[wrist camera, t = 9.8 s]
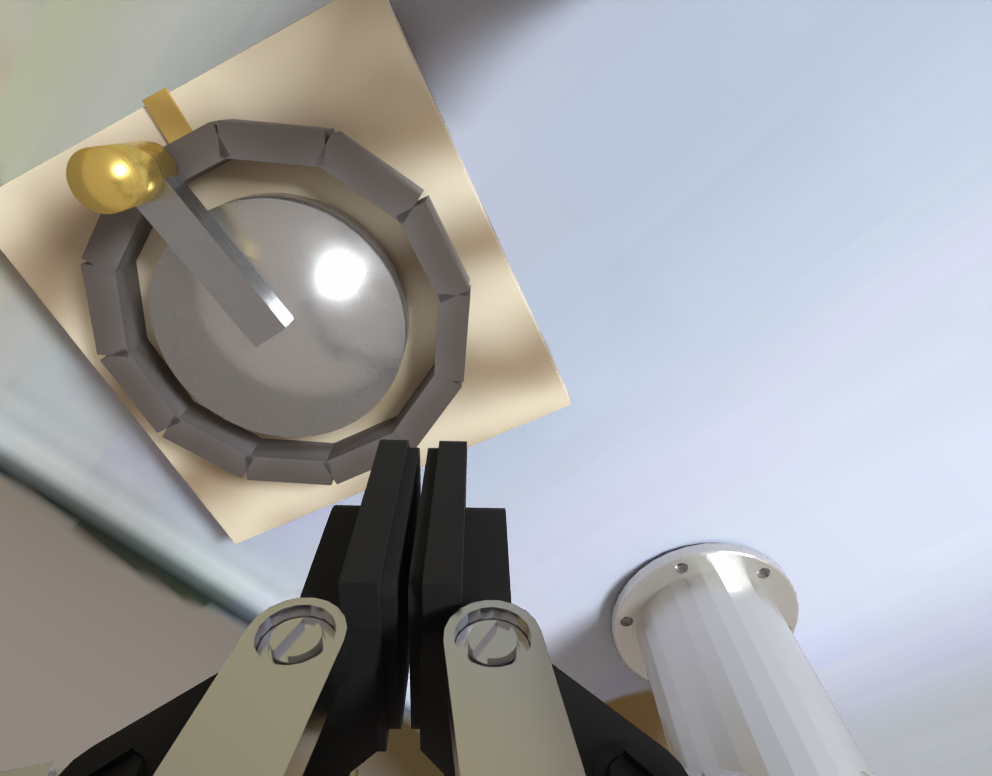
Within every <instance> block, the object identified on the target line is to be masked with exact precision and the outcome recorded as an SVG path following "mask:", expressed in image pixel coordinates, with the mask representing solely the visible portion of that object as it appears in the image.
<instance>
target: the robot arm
mask: <svg viewBox="0 0 992 776" xmlns="http://www.w3.org/2000/svg"><path fill="white" fill-rule="evenodd" d="M466 469H467V441H439V447H438V448H428V451H427V458H426V465H425V472H424V478H423V485H422V492H421V482H420V448H415V447H410V443H409V440H387V439H381V440H380V442H379V445H378V448H377V451H376V455H375V458H374V462H373V465H372V469H371V472H370V475H369V479H368V482H367V486H366V489H365V493H364V496H363V499H362V503H361V506H353V505H335V506H334V507H333V508H332V510H331V513H330V515H329V518H328V521H327V524H326V527H325V529H324V532H323V535H322V538H321V540H320V543H319V546H318V549H317V552H316V554H315V557H314V560H313V563H312V565H311V568H310V571H309V574H308V577H307V579H306V582H305V585H304V588H303V590H302V593H301V596H300V598H296V599H291V600H286V601H283V602H281V603H278V604H276V605H274V606H271V607H269V608H268V609H267V610H265V611H264V612H262V613H261V614H260V615H258V616H257V617H256V618H255V619H254V621H253V622H252V623H251V624H250V625H249V626H248V628H247V629H246V631H245V632H244V634H243V636H242V637H241V639H240V640H239V642H238V643H237V645H236V647H235V648H234V650H233V651H232V653H231V654H230V656H229V657H228V659H227V661H226V662H225V664H224V665H223V667H222V668H221V670H220V672H219V673H217V674H216V675H214V676H212V677H210V678H208V679H207V680H205V681H203V682H202V683H200V684H198V685H197V686H195V687H194V688H191V689H190V690H188V691H186V692H185V693H183V694H181V695H180V696H178V697H176V698H175V699H173V700H171V701H169V702H168V703H166V704H164V705H162V706H161V707H159V708H157V709H156V710H154V711H152V712H151V713H149V714H147V715H146V716H144V717H142V718H140V719H139V720H137V721H135V722H133V723H132V724H130V725H128V726H127V727H125V728H123V729H122V730H120V731H118V732H116V733H115V734H113V735H111V736H110V737H108V738H106V739H105V740H103V741H101V742H100V743H98V744H96V745H94V746H93V747H91V748H90V749H88V750H87V751H86V752H84V753H83V754H81V755H80V756H79V757H77V758H76V759H74V760H73V761H72V762H71V763H70V764H69V765H68V766H67V767H66V768H65V769H60V770H56V769H55V767H54V764H53V762H49V763H44V764H39V765H34V766H29V767H23V768H19V769H13V770H8V771H4V772H0V776H358V766H359V765H360V764H362V763H363V762H364V761H365V760H367V759H368V758H369V757H371V756H372V755H373V754H374V753H375V752H377V751H386V749H387V742H388V735H389V729H401V727H402V721H403V714H404V706H405V698H406V690H407V681H408V673H409V665H410V698H411V728H412V729H420V739H421V740H420V742H421V743H420V744H421V751H422V752H423V753H424V754H425V755H426V756H427V757H428V758H429V759H430V760H431V761H432V762H433V763H434V764H435V765H436V766H437V767H438V768H439V769H440V770H441V772H442V773H443V776H875V774H874V773H873V771H872V769H871V768H870V766H869V764H868V762H867V761H866V759H865V757H864V755H863V754H862V752H861V750H860V749H859V747H858V745H857V743H856V742H855V740H854V738H853V737H852V735H851V733H850V731H849V730H848V728H847V726H846V725H845V723H844V721H843V719H842V718H841V716H840V714H839V712H838V711H837V709H836V707H835V706H834V704H833V702H832V700H831V699H830V697H829V695H828V694H827V692H826V690H825V688H824V687H823V685H822V683H821V681H820V680H819V678H818V676H817V675H816V673H815V671H814V669H813V668H812V666H811V664H810V663H809V661H808V659H807V657H806V656H805V654H804V652H803V651H802V649H801V647H800V645H799V644H798V642H797V640H796V638H795V637H794V635H793V633H794V630H795V627H796V624H797V621H798V610H799V605H798V600H797V595H796V592H795V590H794V588H793V586H792V584H791V582H790V580H789V579H788V577H787V576H786V575H785V573H784V572H783V570H782V569H781V567H779V566H778V565H777V564H776V563H775V562H774V561H773V560H772V559H771V558H769V557H767V556H765V555H764V554H762V553H760V552H758V551H756V550H753V549H750V548H747V547H744V546H741V545H734V544H727V543H705V544H699V545H693V546H687V547H684V548H681V549H678V550H675V551H672V552H669V553H667V554H665V555H663V556H661V557H659V558H657V559H655V560H653V561H652V562H650V563H649V564H648V565H646V566H645V567H643V568H642V569H640V570H639V571H638V572H637V573H636V574H635V575H634V576H633V577H632V578H631V579H630V580H629V581H628V582H627V584H626V585H625V587H624V588H623V589H622V591H621V592H620V594H619V596H618V598H617V601H616V603H615V605H614V608H613V614H612V621H611V622H612V632H613V637H614V641H615V644H616V648H617V650H618V652H619V654H620V656H621V658H622V660H623V661H624V662H625V663H626V665H627V666H628V667H629V668H630V669H631V670H632V671H633V672H635V673H636V674H638V675H639V676H640V677H642V678H643V679H646V680H648V681H650V684H651V688H652V691H653V695H654V698H655V702H656V705H657V709H658V712H659V716H660V719H661V722H662V726H663V729H664V733H665V736H666V739H667V743H668V746H669V750H670V752H668V751H667V750H666V749H665V748H664V747H662V746H661V745H660V744H658V743H657V742H656V741H654V740H653V739H652V738H650V737H649V736H648V735H646V734H645V733H643V732H642V731H641V730H639V729H638V728H637V727H635V726H634V725H633V724H632V723H630V722H629V721H628V720H626V719H625V718H624V717H622V716H621V715H620V714H618V713H617V712H615V711H614V710H613V709H612V708H610V707H609V706H608V705H606V704H605V703H604V702H602V701H601V700H600V699H598V698H597V697H596V696H594V695H593V694H592V693H590V692H589V691H588V690H586V689H585V688H584V687H582V686H581V685H580V684H578V683H577V682H576V681H574V680H573V679H572V678H570V677H569V676H568V675H566V674H565V673H564V672H562V671H561V670H560V669H558V668H557V667H556V666H554V665H553V664H551V661H550V658H549V655H548V651H547V648H546V645H545V642H544V638H543V635H542V632H541V629H540V628H539V626H538V624H537V622H536V620H535V619H534V618H533V617H532V616H531V615H530V614H529V613H528V612H527V611H526V610H524V609H522V608H520V607H518V606H517V605H515V604H512V603H511V591H510V575H509V558H508V542H507V525H506V511H505V508H466Z"/></svg>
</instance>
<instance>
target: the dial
mask: <svg viewBox="0 0 992 776" xmlns="http://www.w3.org/2000/svg"><path fill="white" fill-rule="evenodd" d="M66 178H67V183H68V185H69V188H70V190H71V192H72V193H73V195H74V196H75V197H76V199H77V200H78V201H79V202H80V203H81V204H83V205H84V206H85V207H87V208H88V209H90V210H92V211H94V212H97V213H101V214H114V213H118V212H121V211H124V210H127V209H130V208H133V207H137V208H138V210H139V211H140V212H141V213H142V214H143V215H144V217H145V218H146V219H147V220H148V221H149V223H150V224H151V225H152V226H153V227H154V228H155V230H156V231H157V232H158V233H159V234H160V236H161V237H162V238H163V239H164V240H165V241H166V243H167V244H168V245H167V246H166V248H165V250H164V251H163V253H162V255H161V256H160V259H159V261H158V264H157V266H156V269H155V271H154V276H153V280H152V284H151V294H150V311H151V320H152V325H153V330H154V334H155V337H156V340H157V343H158V346H159V348H160V350H161V352H162V354H163V357H164V359H165V361H166V363H167V364H168V366H169V367H170V369H171V370H172V372H173V373H174V375H175V376H176V378H177V379H178V380H179V381H180V382H181V384H182V385H183V386H184V387H185V389H186V390H187V391H188V392H189V393H191V394H192V395H193V396H194V397H195V398H196V399H197V400H198V401H199V402H200V403H202V404H203V405H204V406H205V407H207V408H208V409H209V410H211V411H212V412H214V413H215V414H217V415H219V416H220V417H222V418H224V419H225V420H227V421H230V422H232V423H234V424H236V425H238V426H240V427H243V428H246V429H249V430H251V431H254V432H258V433H263V434H267V435H272V436H280V437H308V436H317V435H321V434H326V433H330V432H333V431H335V430H338V429H341V428H344V427H346V426H348V425H349V424H351V423H353V422H355V421H357V420H358V419H360V418H361V417H363V416H364V415H366V414H367V413H368V412H369V411H370V410H372V409H373V408H374V407H375V406H376V405H377V404H378V403H379V402H380V400H381V399H382V398H383V397H384V396H385V394H386V393H387V392H388V390H389V388H390V387H391V385H392V383H393V382H394V380H395V377H396V375H397V373H398V370H399V368H400V365H401V361H402V358H403V355H404V351H405V347H406V343H407V340H408V332H409V308H408V302H407V296H406V292H405V289H404V286H403V282H402V280H401V277H400V275H399V273H398V271H397V268H396V266H395V265H394V263H393V261H392V260H391V258H390V256H389V255H388V253H387V252H386V250H385V249H384V248H383V247H382V245H381V244H380V243H379V242H378V240H377V239H376V238H375V237H374V236H373V235H372V234H371V233H370V232H369V231H368V230H367V229H366V228H365V227H364V226H362V225H361V224H360V223H358V222H357V221H356V220H354V219H353V218H352V217H351V216H349V215H347V214H346V213H344V212H342V211H340V210H339V209H337V208H335V207H333V206H331V205H328V204H326V203H324V202H322V201H319V200H316V199H312V198H309V197H306V196H302V195H296V194H289V193H270V192H269V193H260V194H252V195H248V196H244V197H240V198H236V199H234V200H231V201H229V202H227V203H224V204H222V205H220V206H217V207H215V208H212V209H210V210H207V209H206V208H205V206H204V205H203V204H202V203H201V201H200V200H199V199H198V198H197V196H196V195H195V194H194V193H193V191H192V190H191V189H190V188H189V187H188V185H187V184H186V183H185V182H184V180H183V179H182V178H181V177H180V175H179V170H178V166H177V164H176V161H175V160H174V158H173V156H172V155H171V154H170V153H169V151H168V150H166V149H165V148H164V147H163V146H161V145H159V144H158V143H155V142H152V141H148V140H140V141H132V142H124V143H117V144H109V145H102V146H94V147H86V148H82V149H80V150H78V151H76V152H75V153H74V154H73V155H72V156H71V157H70V159H69V161H68V163H67V167H66Z"/></svg>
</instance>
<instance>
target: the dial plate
mask: <svg viewBox="0 0 992 776" xmlns="http://www.w3.org/2000/svg"><path fill="white" fill-rule="evenodd" d="M142 101H143V103H144V104H145V106H144V107H143V108H141V109H139V110H137V111H136V112H134V113H132V114H130V115H128V116H127V117H125V118H123V119H121V120H119V121H118V122H116V123H114V124H112V125H110V126H109V127H107V128H105V129H103V130H101V131H100V132H98V133H96V134H94V135H93V136H91V137H89V138H87V139H85V140H84V141H82V142H80V143H78V144H76V145H75V146H73V147H71V148H69V149H67V150H66V151H64V152H62V153H60V154H59V155H57V156H55V157H53V158H51V159H50V160H48V161H46V162H44V163H42V164H41V165H39V166H37V167H35V168H33V169H32V170H30V171H28V172H26V173H24V174H23V175H21V176H19V177H17V178H16V179H14V180H12V181H10V182H8V183H7V184H5V185H3V186H1V187H0V249H1V250H2V252H3V253H4V254H5V255H6V257H7V258H8V259H9V260H10V262H11V263H12V264H13V265H14V267H15V268H16V269H17V270H18V272H19V273H20V274H21V275H22V277H23V278H24V279H25V280H26V282H27V283H28V284H29V285H30V287H31V288H32V289H33V291H34V292H35V293H36V294H37V296H38V297H39V298H40V299H41V301H42V302H43V303H44V304H45V306H46V307H47V308H48V309H49V311H50V312H51V313H52V314H53V316H54V317H55V318H56V319H57V321H58V322H59V323H60V324H61V326H62V327H63V328H64V329H65V331H66V332H67V333H68V334H69V336H70V337H71V338H72V339H73V341H74V342H75V343H76V344H77V346H78V347H79V348H80V349H81V351H82V352H83V353H84V355H85V356H86V357H87V358H88V360H89V361H90V362H91V363H92V365H93V366H94V367H95V368H96V370H97V371H98V372H99V373H100V375H101V376H102V377H103V378H104V380H105V381H106V382H107V383H108V385H109V386H110V387H111V388H112V390H113V391H114V392H115V393H116V395H117V396H118V397H119V398H120V400H121V401H122V402H123V403H124V405H125V406H126V407H127V408H128V410H129V411H130V412H131V413H132V415H133V416H134V417H135V418H136V420H137V421H138V422H139V424H140V425H141V426H142V427H143V429H144V430H145V431H146V432H147V434H148V435H149V436H150V437H151V439H152V440H153V441H154V442H155V444H156V445H157V446H158V447H159V449H160V450H161V451H162V452H163V454H164V455H165V456H166V457H167V459H168V460H169V461H170V462H171V464H172V465H173V466H174V467H175V469H176V470H177V471H178V472H179V474H180V475H181V476H182V477H183V479H184V480H185V481H186V482H187V484H188V485H189V486H190V488H191V489H192V490H193V491H194V493H195V494H196V495H197V496H198V498H199V499H200V500H201V501H202V503H203V504H204V505H205V506H206V508H207V509H208V510H209V511H210V513H211V514H212V515H213V516H214V518H215V519H216V520H217V521H218V523H219V524H220V525H221V526H222V528H223V529H224V530H225V531H226V533H227V534H228V535H229V536H230V538H231V539H232V540H233V541H234V543H235V544H236V543H239V542H241V541H244V540H246V539H248V538H251V537H253V536H256V535H258V534H261V533H263V532H265V531H268V530H270V529H273V528H275V527H277V526H280V525H282V524H285V523H287V522H289V521H292V520H294V519H297V518H299V517H301V516H304V515H306V514H309V513H311V512H313V511H316V510H318V509H321V508H323V507H326V506H328V505H330V504H333V503H335V502H338V501H340V500H342V499H345V498H347V497H350V496H352V495H354V494H357V493H359V492H362V491H364V490H365V489H366V486H367V482H368V479H369V475H370V472H371V469H372V465H373V462H374V458H375V455H376V451H377V448H378V445H379V442H380V440H381V439H387V440H409V443H410V447H415V448H420V467H422V466H424V465H426V458H427V451H428V448H438V447H439V441H467V447H470V446H472V445H475V444H477V443H480V442H482V441H484V440H487V439H489V438H492V437H494V436H496V435H499V434H501V433H504V432H506V431H508V430H511V429H513V428H516V427H518V426H520V425H523V424H525V423H528V422H530V421H532V420H535V419H537V418H540V417H542V416H544V415H547V414H549V413H552V412H554V411H557V410H559V409H561V408H564V407H566V406H569V405H571V402H570V399H569V395H568V392H567V389H566V387H565V384H564V382H563V380H562V378H561V376H560V373H559V371H558V369H557V367H556V365H555V363H554V360H553V358H552V356H551V354H550V352H549V349H548V347H547V345H546V343H545V341H544V339H543V336H542V334H541V332H540V330H539V328H538V325H537V323H536V321H535V319H534V317H533V314H532V312H531V310H530V308H529V306H528V304H527V301H526V299H525V297H524V295H523V293H522V290H521V288H520V286H519V284H518V282H517V280H516V277H515V275H514V273H513V271H512V269H511V266H510V264H509V262H508V260H507V258H506V255H505V253H504V251H503V249H502V247H501V245H500V242H499V240H498V238H497V236H496V234H495V231H494V229H493V227H492V225H491V223H490V221H489V218H488V216H487V214H486V212H485V210H484V207H483V205H482V203H481V201H480V199H479V197H478V194H477V192H476V190H475V188H474V186H473V183H472V181H471V179H470V177H469V175H468V172H467V170H466V168H465V166H464V164H463V162H462V159H461V157H460V155H459V153H458V151H457V148H456V146H455V144H454V142H453V140H452V138H451V135H450V133H449V131H448V129H447V127H446V124H445V122H444V120H443V118H442V116H441V114H440V111H439V109H438V107H437V105H436V103H435V100H434V98H433V96H432V94H431V92H430V89H429V87H428V85H427V83H426V81H425V79H424V76H423V74H422V72H421V70H420V68H419V65H418V63H417V61H416V59H415V57H414V55H413V52H412V50H411V48H410V46H409V44H408V41H407V39H406V37H405V35H404V33H403V31H402V28H401V26H400V24H399V22H398V20H397V17H396V15H395V13H394V11H393V9H392V6H391V4H390V2H389V0H334V1H333V2H331V3H329V4H327V5H325V6H324V7H322V8H320V9H318V10H316V11H315V12H313V13H311V14H309V15H307V16H306V17H304V18H302V19H300V20H298V21H297V22H295V23H293V24H291V25H290V26H288V27H286V28H284V29H282V30H281V31H279V32H277V33H275V34H273V35H272V36H270V37H268V38H266V39H264V40H263V41H261V42H259V43H257V44H255V45H254V46H252V47H250V48H248V49H247V50H245V51H243V52H241V53H239V54H238V55H236V56H234V57H232V58H230V59H229V60H227V61H225V62H223V63H221V64H220V65H218V66H216V67H214V68H213V69H211V70H209V71H207V72H205V73H204V74H202V75H200V76H198V77H196V78H195V79H193V80H191V81H189V82H187V83H186V84H184V85H182V86H180V87H178V88H177V89H175V90H173V91H171V92H170V93H169V91H168V90H167V88H164V89H162V90H160V91H158V92H157V93H155V94H153V95H151V96H149V97H148V98H146V99H144V100H142ZM140 140H148V141H152V142H155V143H158V144H159V145H161V146H163V147H164V148H165V149H166V150H168V151H169V153H170V154H171V155H172V156H173V158H174V160H175V161H176V164H177V166H178V170H179V175H180V177H181V178H182V179H183V180H184V182H185V183H186V184H187V185H188V187H189V188H190V189H191V190H192V191H193V193H194V194H195V195H196V196H197V198H198V199H199V200H200V201H201V203H202V204H203V205H204V206H205V208H206V209H207V210H210V209H212V208H215V207H217V206H220V205H222V204H224V203H227V202H229V201H231V200H234V199H236V198H240V197H244V196H248V195H252V194H260V193H269V192H270V193H289V194H296V195H302V196H306V197H309V198H312V199H316V200H319V201H322V202H324V203H326V204H328V205H331V206H333V207H335V208H337V209H339V210H340V211H342V212H344V213H346V214H347V215H349V216H351V217H352V218H353V219H354V220H356V221H357V222H358V223H360V224H361V225H362V226H364V227H365V228H366V229H367V230H368V231H369V232H370V233H371V234H372V235H373V236H374V237H375V238H376V239H377V240H378V242H379V243H380V244H381V245H382V247H383V248H384V249H385V250H386V252H387V253H388V255H389V256H390V258H391V260H392V261H393V263H394V265H395V266H396V268H397V271H398V273H399V275H400V277H401V280H402V282H403V286H404V289H405V292H406V296H407V302H408V308H409V332H408V340H407V343H406V347H405V351H404V355H403V358H402V361H401V365H400V368H399V370H398V373H397V375H396V377H395V380H394V382H393V383H392V385H391V387H390V388H389V390H388V392H387V393H386V394H385V396H384V397H383V398H382V399H381V400H380V402H379V403H378V404H377V405H376V406H375V407H374V408H373V409H372V410H370V411H369V412H368V413H367V414H366V415H364V416H363V417H361V418H360V419H358V420H357V421H355V422H353V423H351V424H349V425H348V426H346V427H344V428H341V429H338V430H335V431H333V432H330V433H326V434H321V435H317V436H308V437H280V436H272V435H267V434H263V433H258V432H254V431H251V430H249V429H246V428H243V427H240V426H238V425H236V424H234V423H232V422H230V421H227V420H225V419H224V418H222V417H220V416H219V415H217V414H215V413H214V412H212V411H211V410H209V409H208V408H207V407H205V406H204V405H203V404H202V403H200V402H199V401H198V400H197V399H196V398H195V397H194V396H193V395H192V394H191V393H189V392H188V391H187V390H186V389H185V387H184V386H183V385H182V384H181V382H180V381H179V380H178V379H177V378H176V376H175V375H174V373H173V372H172V370H171V369H170V367H169V366H168V364H167V363H166V361H165V359H164V357H163V354H162V352H161V350H160V348H159V346H158V343H157V340H156V337H155V334H154V330H153V325H152V320H151V311H150V294H151V284H152V280H153V276H154V271H155V269H156V266H157V264H158V261H159V259H160V256H161V255H162V253H163V251H164V250H165V248H166V246H167V245H168V244H167V243H166V241H165V240H164V239H163V238H162V237H161V236H160V234H159V233H158V232H157V231H156V230H155V228H154V227H153V226H152V225H151V224H150V223H149V221H148V220H147V219H146V218H145V217H144V215H143V214H142V213H141V212H140V211H139V210H138V208H137V207H133V208H130V209H127V210H124V211H121V212H118V213H114V214H101V213H97V212H94V211H92V210H90V209H88V208H87V207H85V206H84V205H83V204H81V203H80V202H79V201H78V200H77V199H76V197H75V196H74V195H73V193H72V192H71V190H70V188H69V185H68V183H67V178H66V167H67V163H68V161H69V159H70V157H71V156H72V155H73V154H74V153H75V152H76V151H78V150H80V149H82V148H86V147H94V146H102V145H109V144H117V143H124V142H132V141H140Z"/></svg>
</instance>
